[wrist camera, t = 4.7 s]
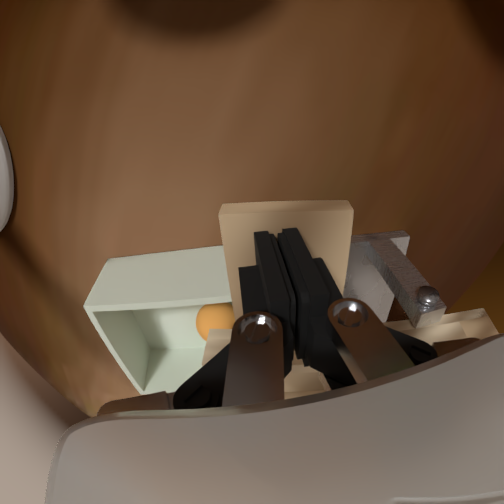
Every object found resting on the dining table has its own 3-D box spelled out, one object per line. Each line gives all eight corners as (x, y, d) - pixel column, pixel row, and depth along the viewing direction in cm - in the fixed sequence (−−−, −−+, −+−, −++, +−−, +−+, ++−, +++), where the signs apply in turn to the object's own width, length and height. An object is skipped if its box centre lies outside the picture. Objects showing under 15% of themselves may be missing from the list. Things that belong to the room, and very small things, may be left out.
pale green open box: (275, 239, 20) (289, 288, 16) (277, 338, 26) (287, 386, 22) (108, 258, 20) (83, 306, 15) (149, 348, 26) (140, 394, 21)
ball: (234, 324, 19) (186, 322, 19) (240, 355, 21) (196, 352, 21) (241, 291, 22) (197, 290, 22) (245, 322, 23) (205, 320, 24)
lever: (522, 204, 10) (558, 235, 7) (447, 366, 18) (459, 399, 15) (179, 201, 12) (150, 243, 9) (226, 387, 20) (221, 426, 17)
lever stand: (404, 225, 21) (470, 294, 13) (380, 321, 27) (414, 390, 19) (340, 231, 20) (395, 315, 13) (327, 331, 26) (353, 409, 19)
